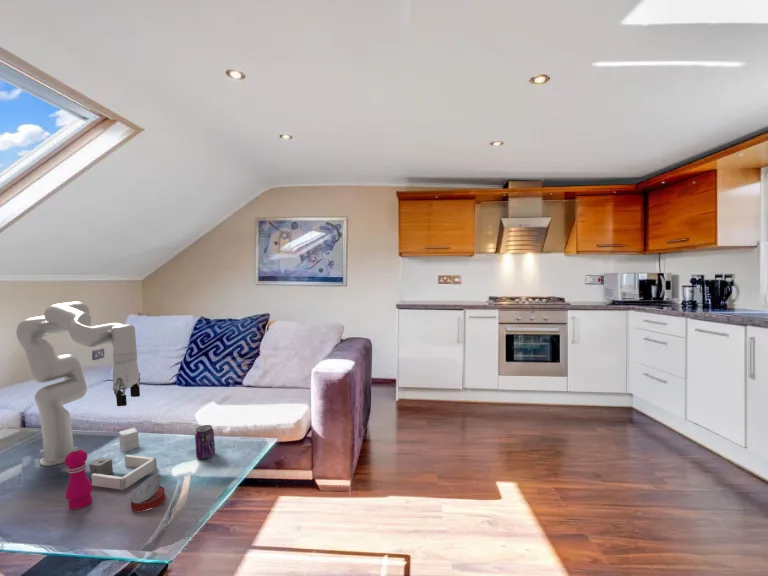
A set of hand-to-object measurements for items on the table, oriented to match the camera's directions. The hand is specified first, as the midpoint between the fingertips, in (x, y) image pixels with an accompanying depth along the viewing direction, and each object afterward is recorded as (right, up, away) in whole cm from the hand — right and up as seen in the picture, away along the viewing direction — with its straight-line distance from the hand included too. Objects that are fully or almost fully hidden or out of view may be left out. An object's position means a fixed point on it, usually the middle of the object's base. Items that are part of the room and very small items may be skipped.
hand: (128, 401), depth 152 cm
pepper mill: (-5, -30, -18) cm, 35 cm away
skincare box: (-14, -27, +22) cm, 37 cm away
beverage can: (+24, -26, +12) cm, 38 cm away
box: (0, -28, -2) cm, 28 cm away
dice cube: (-11, -29, +1) cm, 30 cm away
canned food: (+18, -29, -18) cm, 39 cm away
